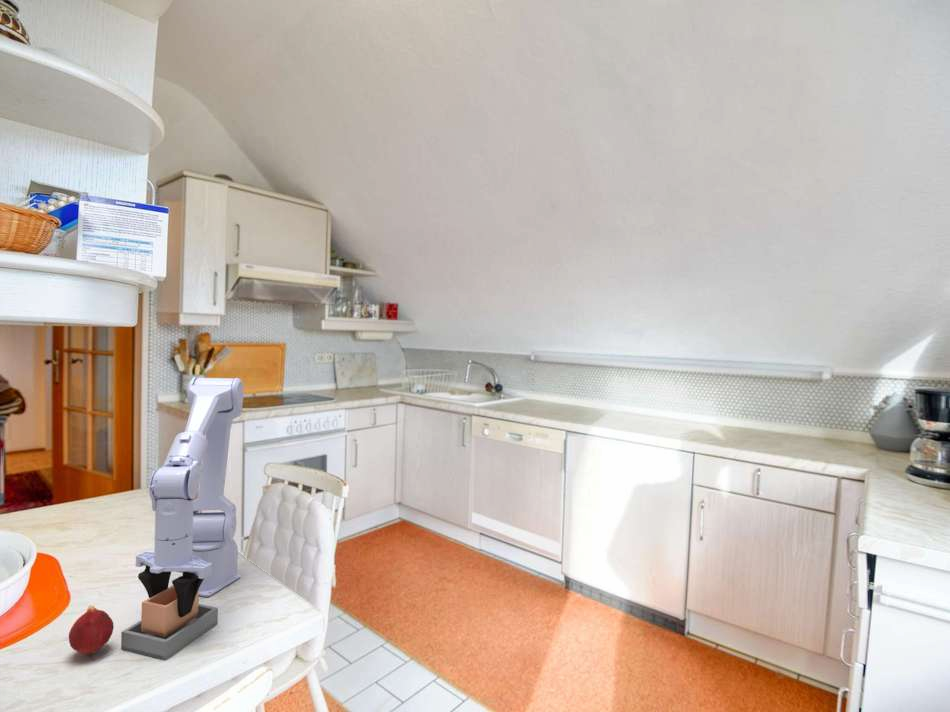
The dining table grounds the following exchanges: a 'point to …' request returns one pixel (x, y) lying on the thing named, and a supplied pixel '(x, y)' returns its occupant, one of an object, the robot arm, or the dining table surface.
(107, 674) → the dining table surface
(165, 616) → the small crate
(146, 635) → the big crate
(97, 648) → the onion
